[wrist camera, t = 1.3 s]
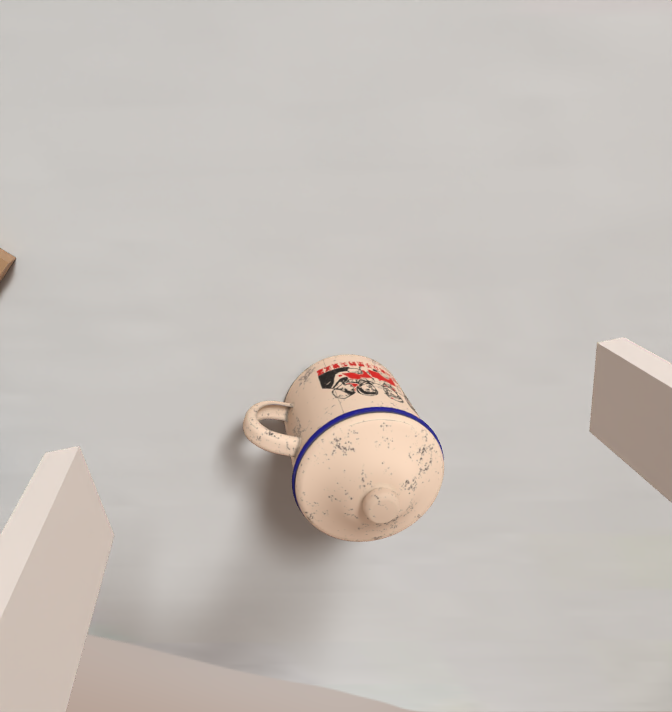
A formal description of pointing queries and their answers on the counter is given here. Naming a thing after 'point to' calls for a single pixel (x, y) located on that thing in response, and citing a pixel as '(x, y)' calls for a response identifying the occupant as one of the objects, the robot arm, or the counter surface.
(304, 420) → the teacup with lid
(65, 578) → the robot arm
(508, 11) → the counter surface
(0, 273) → the brown board with cylinder
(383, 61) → the counter surface
